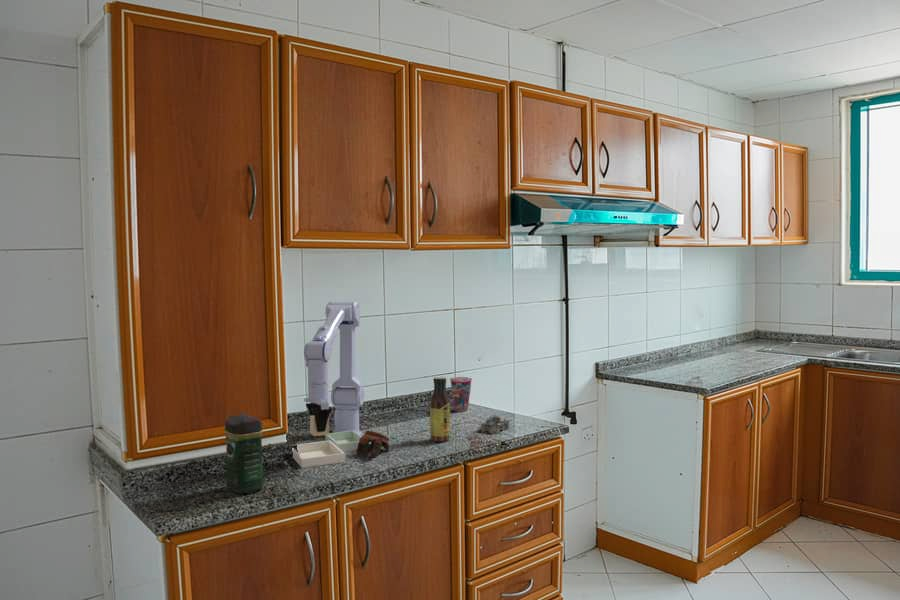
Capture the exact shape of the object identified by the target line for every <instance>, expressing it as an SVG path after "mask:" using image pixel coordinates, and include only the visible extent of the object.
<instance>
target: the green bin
mask: <svg viewBox="0 0 900 600" xmlns="http://www.w3.org/2000/svg"><path fill="white" fill-rule="evenodd" d="M324 436H325V438H324V439H325V440H324V441H329V440H330V441H331V442H333V443H334V444H335V445H336V446H337V447H338V448H339V449H341V450H342V451H343V452H344V453H347V452H352V451H356V449H357V448H358V443H359V439H360V438H361V437H362V436H363V435H362V434H360V435H359V434H358V433H357V432H355V431H354V430H353V431H344V432H336V433H334V432H329V435H324Z"/></svg>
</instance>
